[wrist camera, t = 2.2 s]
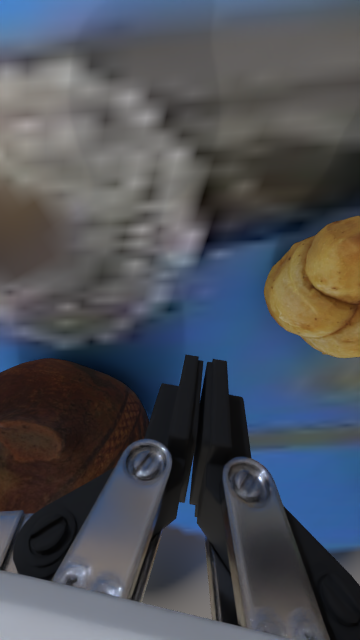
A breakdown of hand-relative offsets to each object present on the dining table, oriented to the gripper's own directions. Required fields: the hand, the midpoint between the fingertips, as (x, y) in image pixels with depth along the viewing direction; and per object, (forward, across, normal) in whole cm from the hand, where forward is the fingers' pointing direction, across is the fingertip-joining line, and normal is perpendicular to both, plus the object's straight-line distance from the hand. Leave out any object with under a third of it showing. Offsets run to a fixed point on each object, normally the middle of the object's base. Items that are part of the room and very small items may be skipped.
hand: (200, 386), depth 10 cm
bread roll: (+17, -11, 0) cm, 20 cm away
